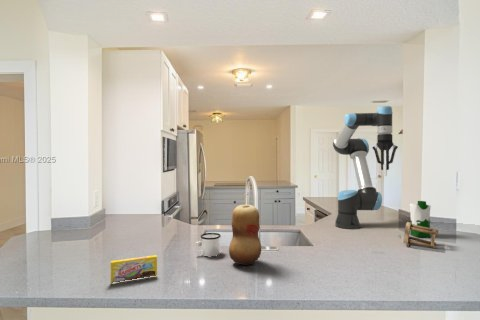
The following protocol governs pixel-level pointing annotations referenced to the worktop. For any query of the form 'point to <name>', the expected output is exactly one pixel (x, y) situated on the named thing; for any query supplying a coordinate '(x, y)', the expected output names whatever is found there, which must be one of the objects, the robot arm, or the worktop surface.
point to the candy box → (133, 268)
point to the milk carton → (420, 217)
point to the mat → (439, 247)
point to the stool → (420, 229)
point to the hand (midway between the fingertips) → (385, 175)
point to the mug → (210, 244)
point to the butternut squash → (245, 235)
